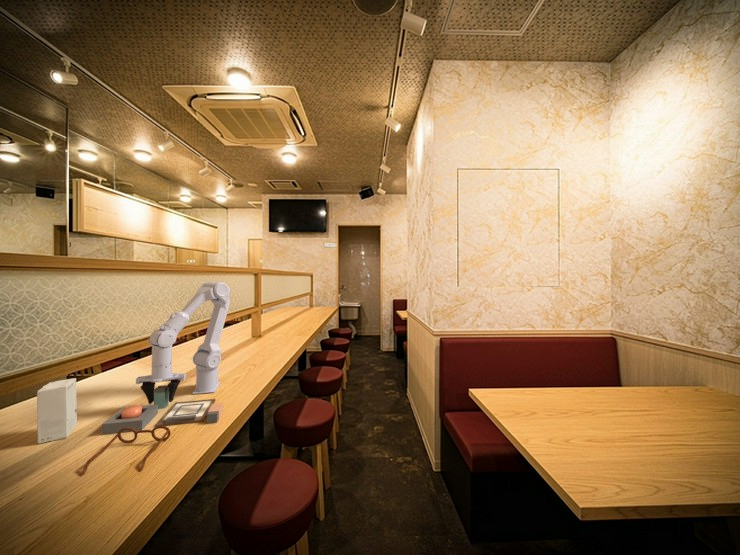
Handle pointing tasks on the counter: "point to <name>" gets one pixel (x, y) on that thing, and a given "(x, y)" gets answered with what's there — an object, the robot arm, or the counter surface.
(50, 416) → the skincare box
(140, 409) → the button
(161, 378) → the robot arm
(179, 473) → the counter surface
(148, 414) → the button housing
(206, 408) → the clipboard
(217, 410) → the terracotta marker
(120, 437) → the glasses
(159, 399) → the block
